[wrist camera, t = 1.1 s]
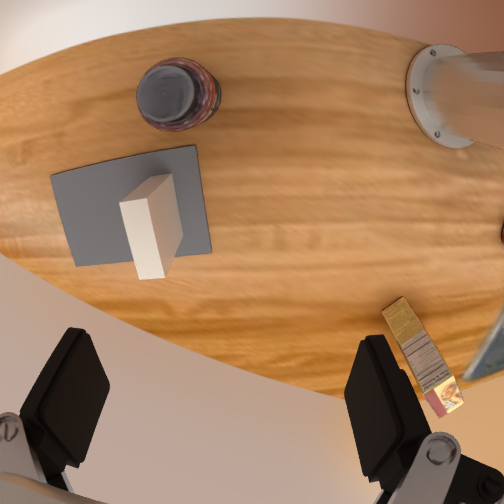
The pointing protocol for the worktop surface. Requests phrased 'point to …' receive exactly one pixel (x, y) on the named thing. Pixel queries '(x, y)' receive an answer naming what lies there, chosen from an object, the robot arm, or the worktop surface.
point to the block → (152, 225)
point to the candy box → (423, 358)
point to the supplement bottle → (177, 95)
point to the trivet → (115, 190)
